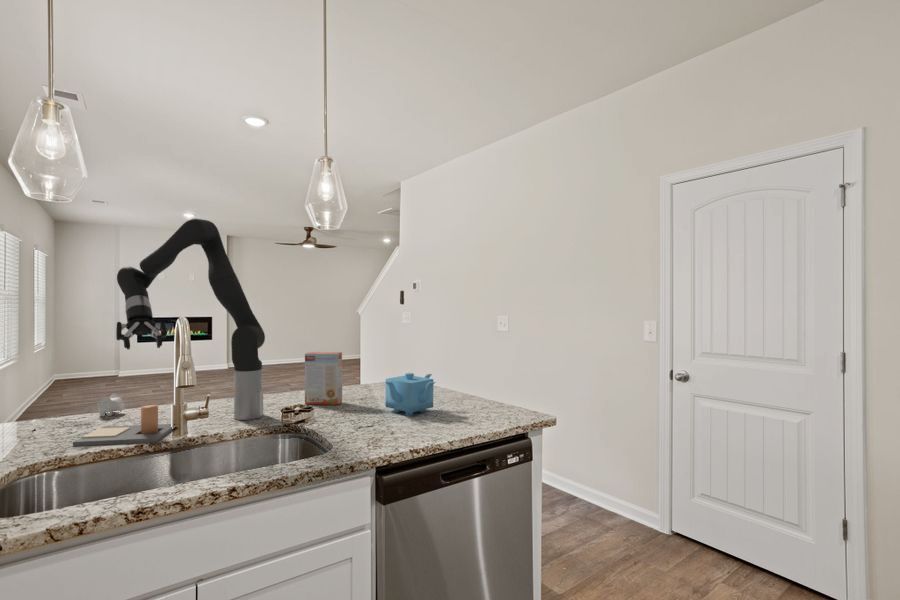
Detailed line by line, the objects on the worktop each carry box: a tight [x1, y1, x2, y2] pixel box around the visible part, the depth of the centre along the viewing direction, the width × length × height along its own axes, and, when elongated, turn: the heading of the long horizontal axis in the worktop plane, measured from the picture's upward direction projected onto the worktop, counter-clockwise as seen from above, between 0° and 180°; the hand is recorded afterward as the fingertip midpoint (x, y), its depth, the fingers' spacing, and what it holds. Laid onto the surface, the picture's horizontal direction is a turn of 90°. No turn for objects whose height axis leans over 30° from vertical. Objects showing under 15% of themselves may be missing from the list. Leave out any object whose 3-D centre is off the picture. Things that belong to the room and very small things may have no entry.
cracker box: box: [304, 351, 343, 406], centre depth 190 cm, size 14×6×21 cm, turn 84°
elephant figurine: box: [96, 393, 129, 417], centre depth 171 cm, size 8×10×7 cm
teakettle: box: [384, 372, 437, 417], centre depth 177 cm, size 19×19×15 cm
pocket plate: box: [72, 423, 172, 447], centre depth 145 cm, size 22×16×2 cm
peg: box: [140, 404, 159, 434], centre depth 146 cm, size 4×4×9 cm
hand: (144, 347), depth 155 cm, fingers open, 8 cm apart
